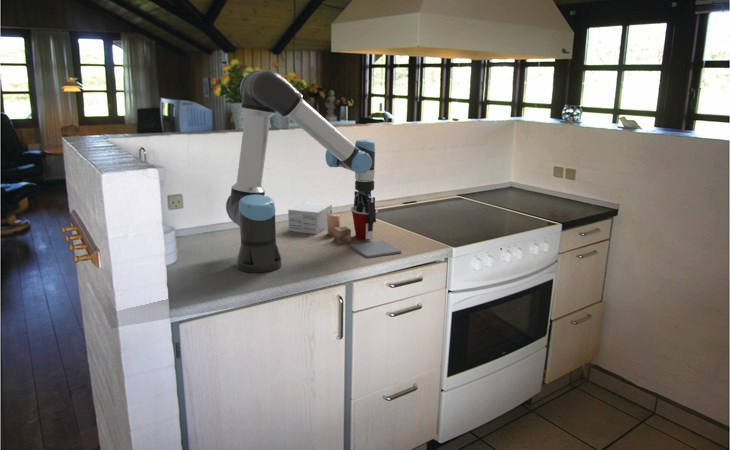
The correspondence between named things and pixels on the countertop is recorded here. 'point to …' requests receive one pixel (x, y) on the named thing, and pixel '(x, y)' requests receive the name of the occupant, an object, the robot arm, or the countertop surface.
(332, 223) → the pink cylinder
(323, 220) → the supplement box
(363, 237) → the plastic cup
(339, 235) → the walnut block
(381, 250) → the mat
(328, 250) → the countertop surface
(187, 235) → the countertop surface
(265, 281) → the countertop surface
